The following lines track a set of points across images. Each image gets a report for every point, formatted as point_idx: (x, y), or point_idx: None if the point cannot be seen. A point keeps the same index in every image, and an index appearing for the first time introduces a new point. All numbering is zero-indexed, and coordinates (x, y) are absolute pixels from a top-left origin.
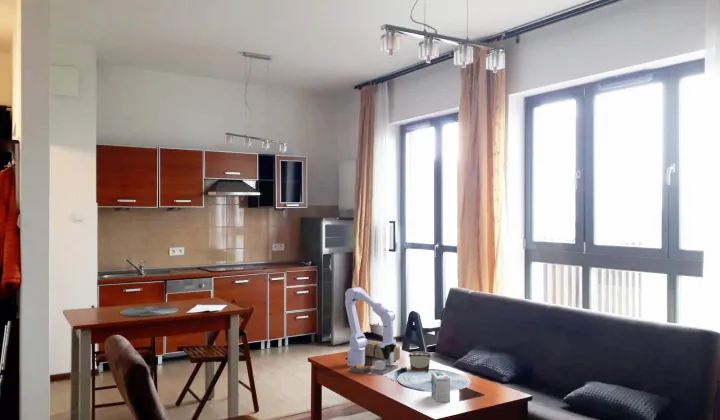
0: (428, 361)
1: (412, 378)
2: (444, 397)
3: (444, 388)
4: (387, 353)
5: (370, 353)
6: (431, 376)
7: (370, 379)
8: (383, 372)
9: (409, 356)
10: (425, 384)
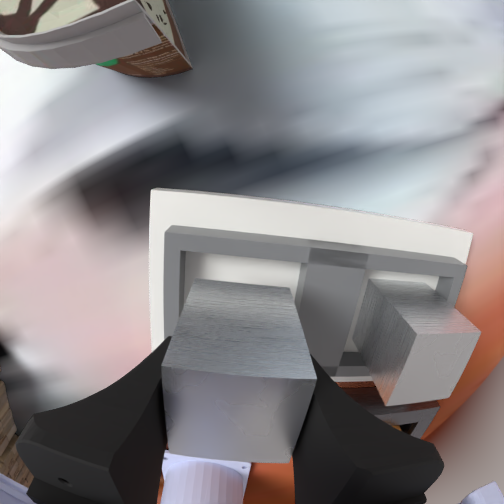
0: None
1: (397, 14)
2: None
3: None
4: (352, 408)
5: (17, 454)
6: None
7: (493, 305)
8: (463, 264)
9: (92, 60)
10: None
